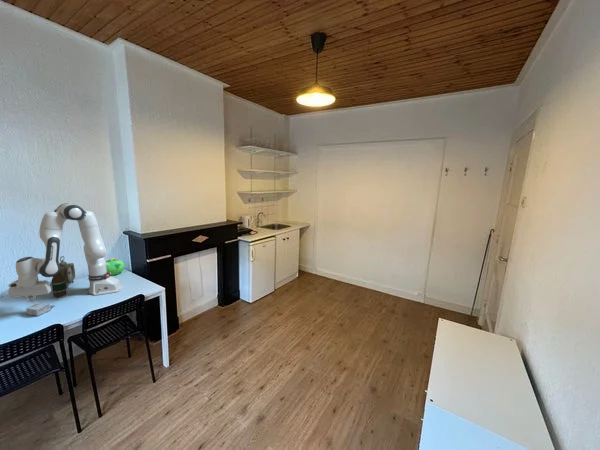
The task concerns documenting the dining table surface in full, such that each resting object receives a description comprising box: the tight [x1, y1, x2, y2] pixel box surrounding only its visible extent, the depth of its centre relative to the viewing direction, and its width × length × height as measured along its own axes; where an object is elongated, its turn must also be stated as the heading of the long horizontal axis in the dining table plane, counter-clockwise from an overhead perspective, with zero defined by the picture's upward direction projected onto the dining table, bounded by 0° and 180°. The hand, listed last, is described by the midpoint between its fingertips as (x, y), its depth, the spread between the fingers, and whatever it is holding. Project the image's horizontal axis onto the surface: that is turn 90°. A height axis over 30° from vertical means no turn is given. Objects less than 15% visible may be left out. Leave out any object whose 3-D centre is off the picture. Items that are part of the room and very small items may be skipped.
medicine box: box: [25, 302, 52, 317], centre depth 168 cm, size 8×4×9 cm
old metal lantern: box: [52, 255, 76, 289], centre depth 203 cm, size 14×9×25 cm, turn 23°
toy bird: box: [105, 257, 126, 276], centre depth 230 cm, size 18×17×15 cm
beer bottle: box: [50, 272, 68, 299], centre depth 188 cm, size 8×8×24 cm
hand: (32, 301), depth 169 cm, fingers closed
